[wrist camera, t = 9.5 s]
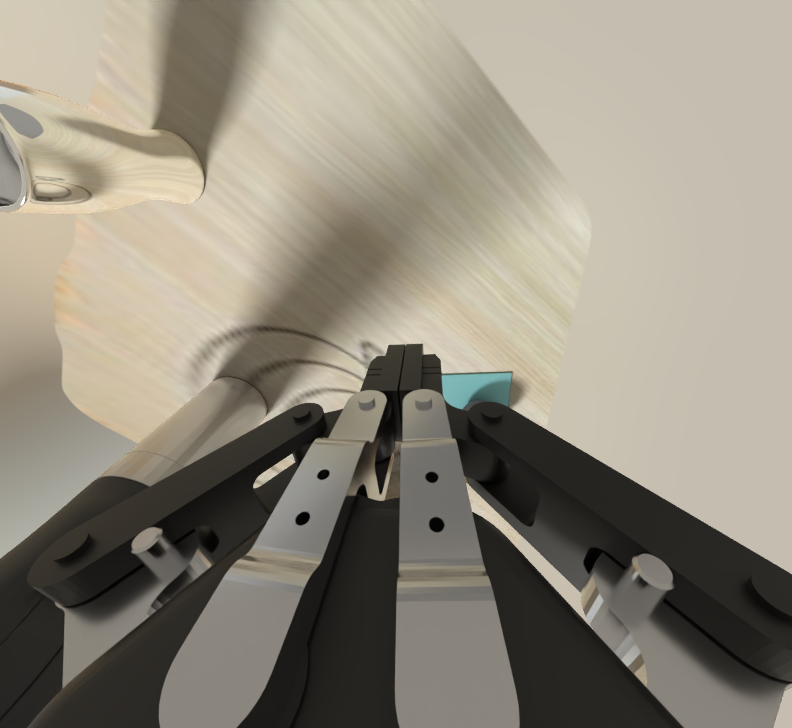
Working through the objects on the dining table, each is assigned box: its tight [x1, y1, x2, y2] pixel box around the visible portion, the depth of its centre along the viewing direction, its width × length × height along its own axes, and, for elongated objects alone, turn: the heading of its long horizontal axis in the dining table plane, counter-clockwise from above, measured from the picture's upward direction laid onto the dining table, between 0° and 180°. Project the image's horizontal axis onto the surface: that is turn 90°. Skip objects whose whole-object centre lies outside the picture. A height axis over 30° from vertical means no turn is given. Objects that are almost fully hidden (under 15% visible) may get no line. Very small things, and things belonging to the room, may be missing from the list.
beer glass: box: [0, 80, 204, 214], centre depth 22 cm, size 7×7×15 cm
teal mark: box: [442, 372, 512, 409], centre depth 40 cm, size 14×14×1 cm
